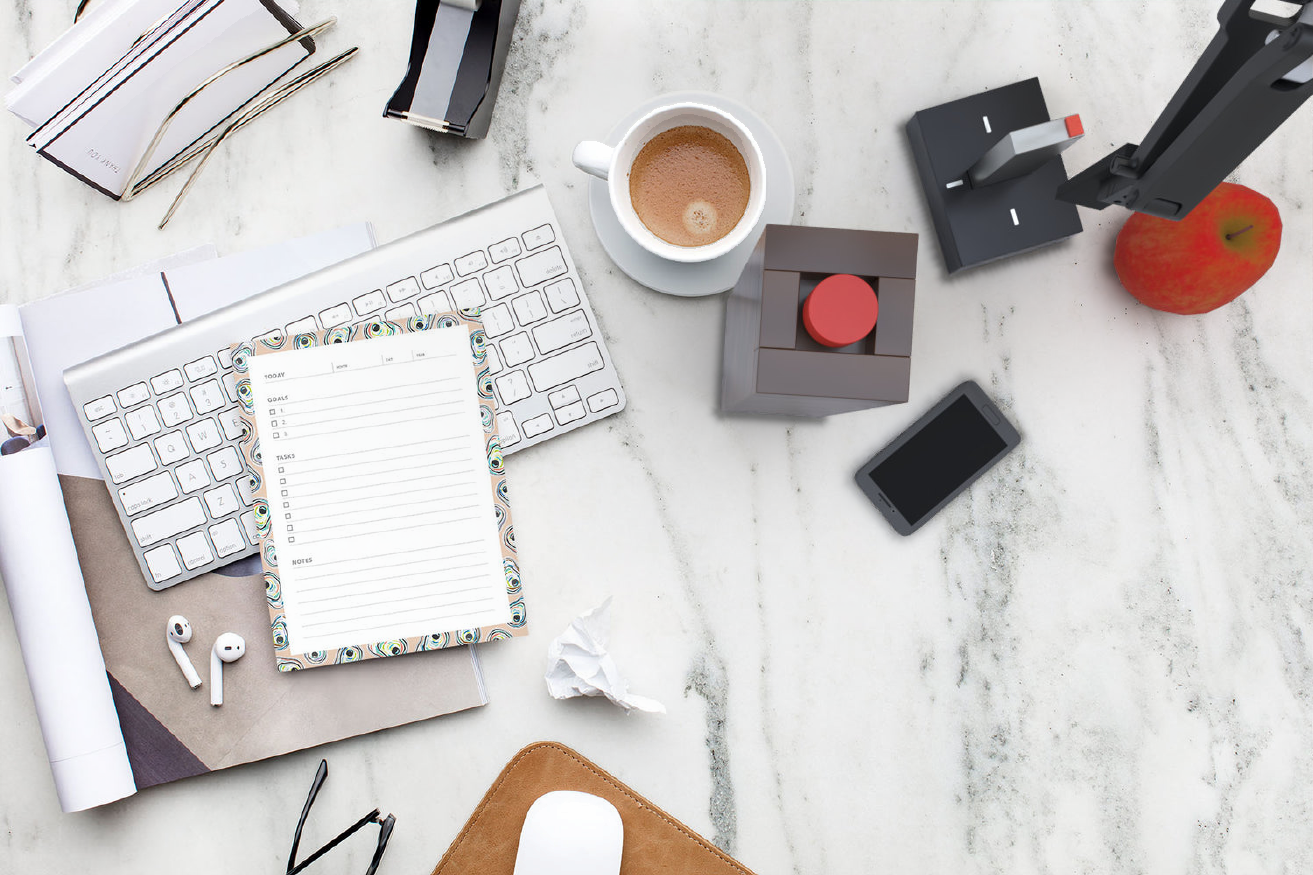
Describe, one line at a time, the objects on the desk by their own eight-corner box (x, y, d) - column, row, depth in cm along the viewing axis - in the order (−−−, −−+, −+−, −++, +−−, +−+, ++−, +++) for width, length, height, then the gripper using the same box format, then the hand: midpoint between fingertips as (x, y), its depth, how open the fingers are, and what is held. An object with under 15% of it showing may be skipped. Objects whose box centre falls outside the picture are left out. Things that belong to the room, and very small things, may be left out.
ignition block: (727, 299, 70) (766, 223, 46) (827, 306, 70) (919, 233, 46) (720, 410, 70) (755, 393, 46) (820, 417, 70) (908, 402, 46)
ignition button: (804, 278, 46) (810, 271, 44) (871, 282, 46) (880, 275, 44) (800, 345, 46) (806, 341, 44) (867, 349, 46) (876, 346, 44)
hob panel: (904, 125, 70) (916, 110, 67) (1021, 91, 70) (1038, 75, 67) (948, 274, 70) (962, 266, 67) (1065, 240, 70) (1085, 230, 67)
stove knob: (972, 189, 67) (1017, 153, 59) (966, 169, 67) (1011, 130, 59) (1033, 172, 67) (1087, 134, 59) (1028, 152, 67) (1080, 111, 59)
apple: (1190, 339, 70) (1286, 321, 59) (1079, 291, 70) (1156, 263, 59) (1237, 230, 70) (1342, 191, 59) (1126, 182, 70) (1212, 134, 59)
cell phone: (1021, 439, 69) (1025, 439, 69) (902, 539, 69) (905, 540, 69) (968, 377, 70) (972, 376, 69) (850, 476, 69) (852, 476, 69)
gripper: (1550, 190, 23) (1119, 310, 44) (1743, -618, 23) (1222, -112, 44) (1306, 129, 23) (991, 279, 44) (1501, -680, 23) (1095, -144, 44)
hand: (1106, 83), depth 44 cm, fingers open, 13 cm apart
